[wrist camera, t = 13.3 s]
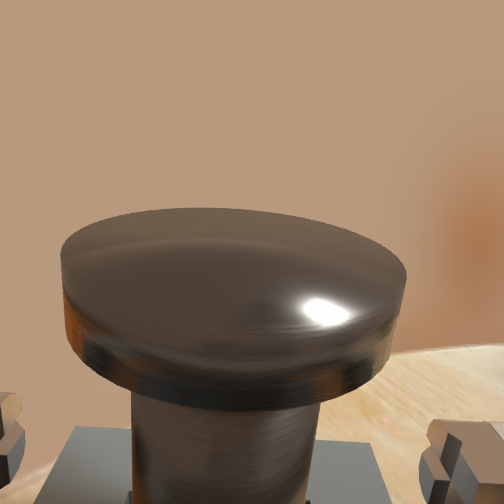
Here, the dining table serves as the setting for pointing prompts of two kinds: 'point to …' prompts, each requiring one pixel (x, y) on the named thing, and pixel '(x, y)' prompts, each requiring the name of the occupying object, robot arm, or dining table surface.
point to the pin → (228, 341)
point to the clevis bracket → (120, 471)
